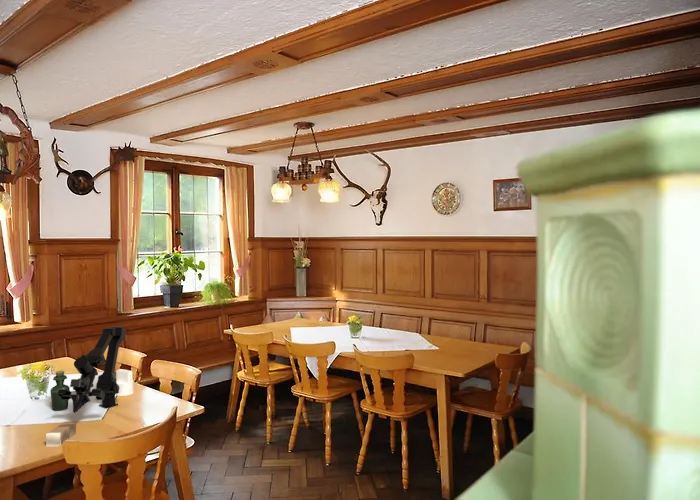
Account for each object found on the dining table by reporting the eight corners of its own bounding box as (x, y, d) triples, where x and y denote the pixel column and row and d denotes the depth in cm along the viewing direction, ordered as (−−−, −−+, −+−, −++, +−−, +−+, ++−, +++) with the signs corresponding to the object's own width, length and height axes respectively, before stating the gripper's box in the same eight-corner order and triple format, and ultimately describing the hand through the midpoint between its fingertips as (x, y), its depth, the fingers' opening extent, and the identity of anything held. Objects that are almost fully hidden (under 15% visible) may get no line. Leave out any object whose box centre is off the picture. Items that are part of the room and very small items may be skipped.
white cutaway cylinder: (137, 392, 273) (137, 369, 272) (123, 396, 264) (123, 373, 264) (125, 389, 276) (125, 367, 276) (111, 394, 268) (111, 371, 268)
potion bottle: (53, 407, 248) (52, 370, 247) (71, 405, 250) (71, 369, 250) (48, 412, 240) (47, 374, 239) (67, 411, 242) (67, 373, 242)
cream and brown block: (64, 422, 215) (46, 433, 202) (76, 422, 215) (58, 434, 202) (64, 433, 215) (46, 446, 202) (76, 433, 215) (58, 446, 202)
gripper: (58, 370, 223) (44, 404, 212) (101, 370, 223) (89, 404, 212) (68, 382, 231) (55, 415, 220) (110, 383, 231) (98, 416, 221)
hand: (74, 412), depth 218 cm, fingers closed
